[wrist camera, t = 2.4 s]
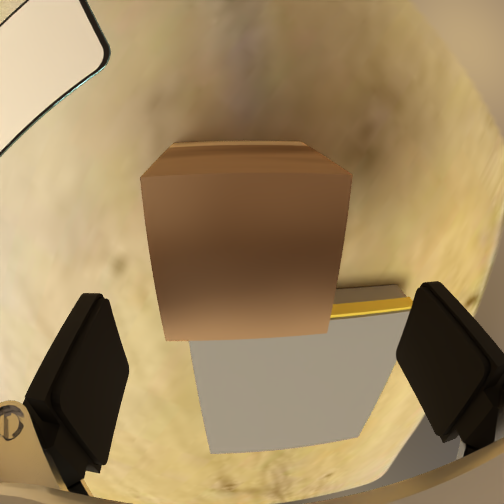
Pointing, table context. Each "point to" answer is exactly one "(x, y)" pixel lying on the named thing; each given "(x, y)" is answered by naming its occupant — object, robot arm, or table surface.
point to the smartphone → (45, 60)
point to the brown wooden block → (245, 238)
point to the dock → (301, 377)
